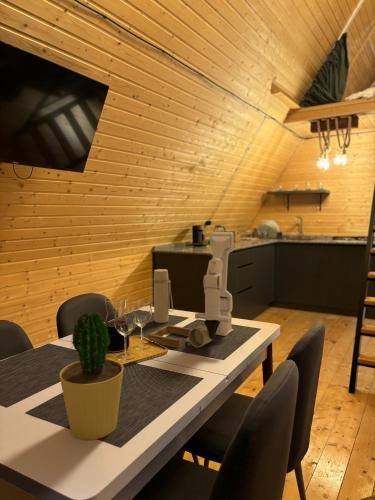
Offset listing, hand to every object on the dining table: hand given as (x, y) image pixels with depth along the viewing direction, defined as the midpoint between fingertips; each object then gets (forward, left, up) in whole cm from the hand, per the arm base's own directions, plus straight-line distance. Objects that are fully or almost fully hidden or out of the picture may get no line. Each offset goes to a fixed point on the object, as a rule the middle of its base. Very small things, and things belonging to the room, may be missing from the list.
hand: (212, 338), depth 151 cm
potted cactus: (+65, -2, -4) cm, 65 cm away
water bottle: (-19, -35, -4) cm, 41 cm away
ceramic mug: (0, -6, -4) cm, 7 cm away
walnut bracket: (0, -18, -3) cm, 19 cm away
